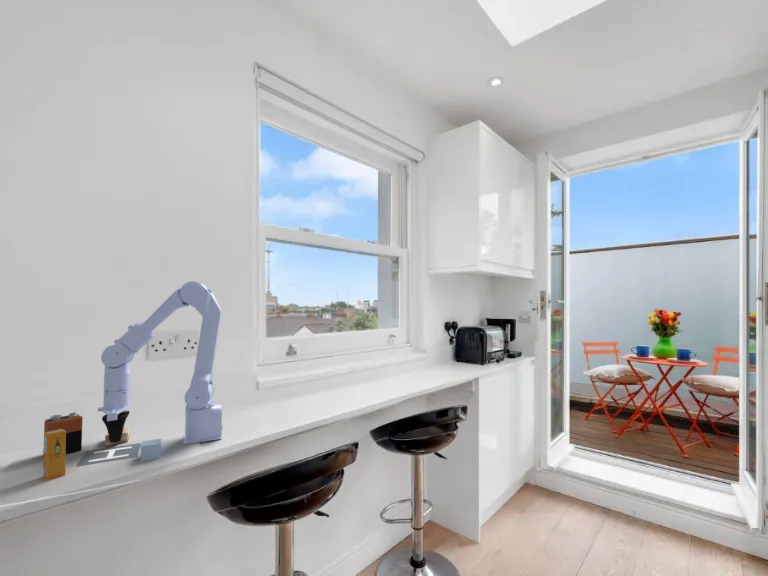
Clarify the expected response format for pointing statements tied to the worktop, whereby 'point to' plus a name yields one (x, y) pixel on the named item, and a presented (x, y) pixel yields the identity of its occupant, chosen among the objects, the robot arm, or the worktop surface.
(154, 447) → the blue cube
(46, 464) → the supplement box
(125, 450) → the letter mat
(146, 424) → the worktop surface
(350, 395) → the worktop surface
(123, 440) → the oak block
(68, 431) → the battery
